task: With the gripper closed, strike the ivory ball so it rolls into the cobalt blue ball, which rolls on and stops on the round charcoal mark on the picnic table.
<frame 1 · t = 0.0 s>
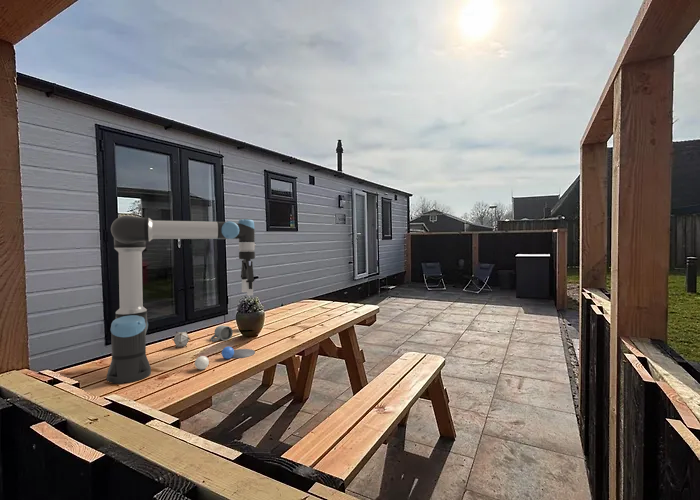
hand: (247, 294, 177), 28 cm above the table, tool pointing down, fingers open, 13 cm apart
blue ball: (227, 352, 165), on the table
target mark: (240, 353, 172), on the table
grey spiked polyhedron: (181, 347, 184), on the table
ceramic mug: (221, 340, 197), on the table
white ball: (201, 362, 152), on the table
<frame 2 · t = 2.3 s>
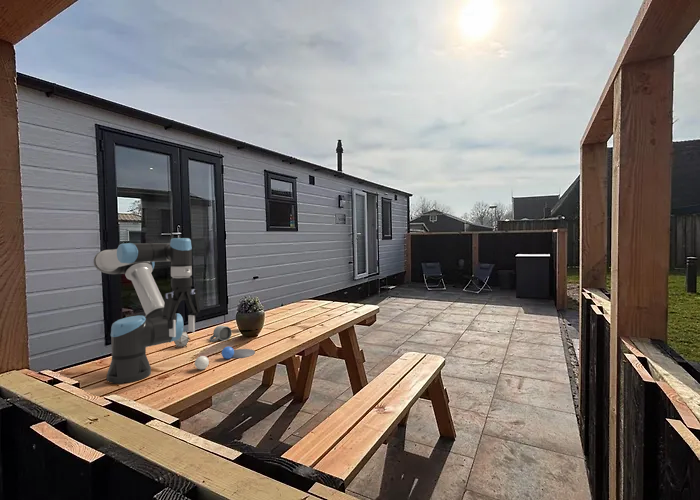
hand: (182, 333, 143), 17 cm above the table, tool pointing down, fingers open, 8 cm apart
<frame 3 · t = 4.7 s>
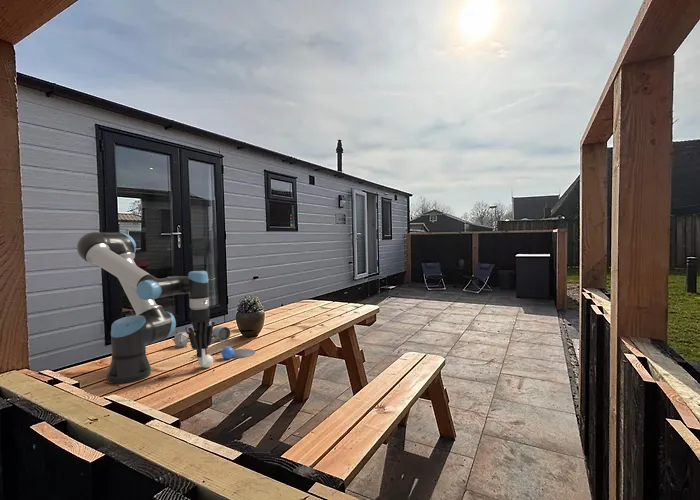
hand: (202, 364, 150), 3 cm above the table, tool pointing down, fingers closed
white ball: (206, 361, 154), on the table, touching gripper
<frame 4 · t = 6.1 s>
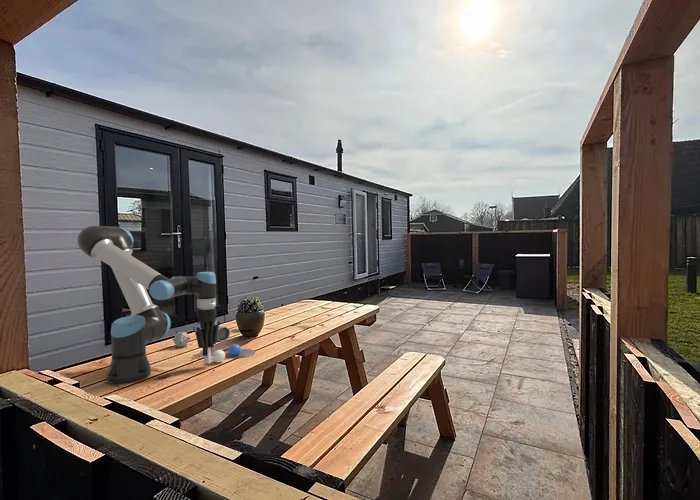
hand: (207, 362, 154), 2 cm above the table, tool pointing down, fingers closed
blue ball: (234, 349, 169), on the table
white ball: (218, 356, 160), on the table
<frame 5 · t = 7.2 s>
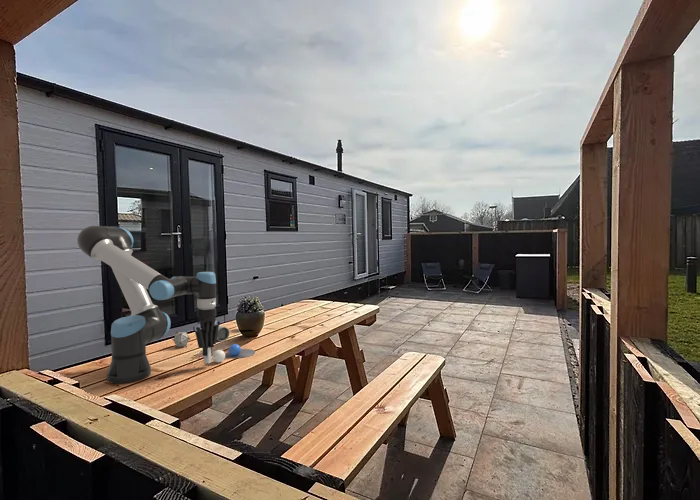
hand: (207, 362, 154), 2 cm above the table, tool pointing down, fingers closed
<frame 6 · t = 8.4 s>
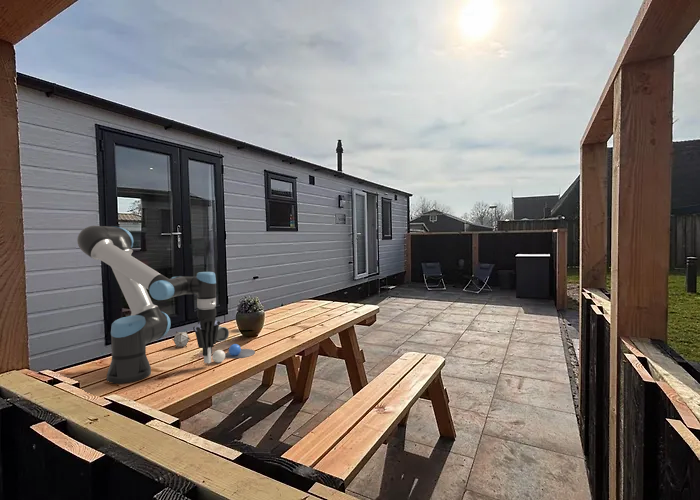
hand: (207, 362, 154), 2 cm above the table, tool pointing down, fingers closed
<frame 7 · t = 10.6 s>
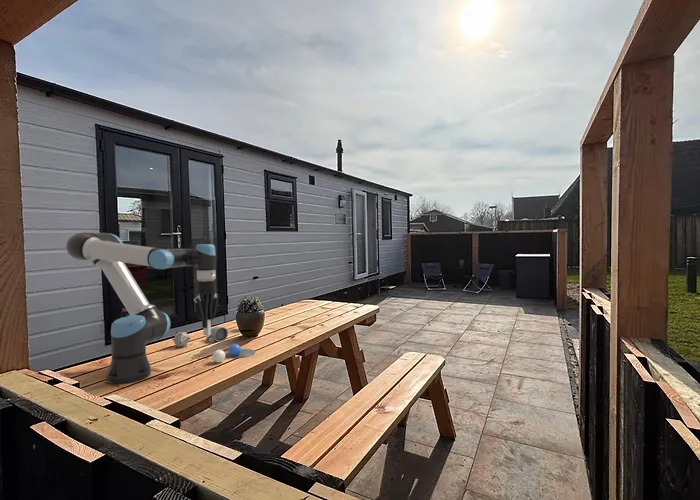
hand: (207, 334, 154), 14 cm above the table, tool pointing down, fingers closed
at the end: blue ball 3.4 cm from the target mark (horizontally); blue ball never touched the robot; white ball first touched blue ball at 5.0 s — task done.
